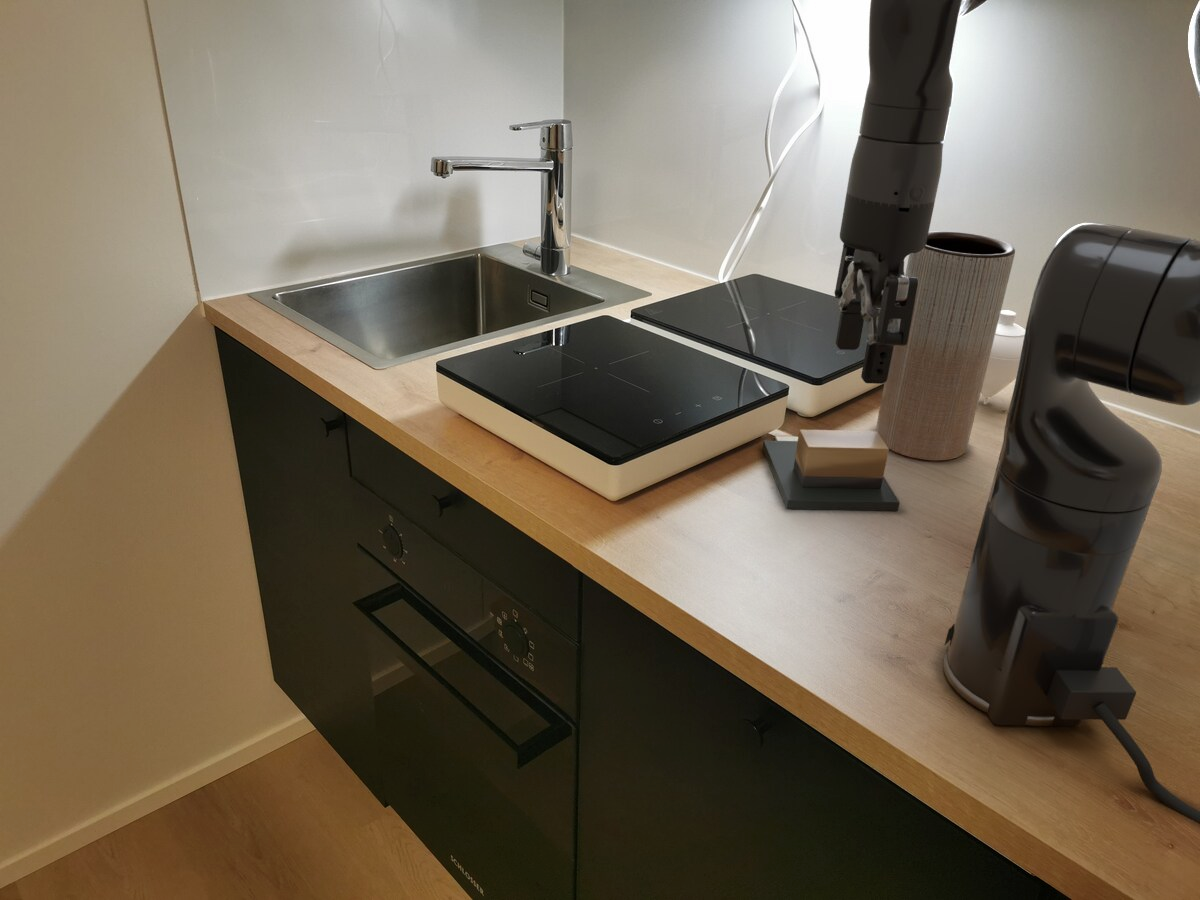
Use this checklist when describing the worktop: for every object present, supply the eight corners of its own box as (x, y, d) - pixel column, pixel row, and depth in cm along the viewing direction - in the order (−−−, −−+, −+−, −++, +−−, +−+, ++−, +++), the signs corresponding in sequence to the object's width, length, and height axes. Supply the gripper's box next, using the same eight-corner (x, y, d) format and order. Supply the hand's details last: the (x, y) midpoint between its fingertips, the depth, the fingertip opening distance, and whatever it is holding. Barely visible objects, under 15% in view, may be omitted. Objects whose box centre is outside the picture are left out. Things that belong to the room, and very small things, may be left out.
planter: (970, 468, 97) (1022, 259, 87) (874, 454, 100) (914, 249, 89) (962, 429, 106) (1009, 236, 96) (874, 417, 108) (910, 227, 98)
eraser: (881, 488, 91) (889, 448, 89) (801, 487, 90) (808, 447, 88) (869, 469, 94) (877, 430, 92) (793, 468, 94) (799, 429, 92)
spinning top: (941, 393, 116) (961, 302, 110) (995, 390, 117) (1018, 301, 112) (973, 418, 109) (997, 323, 104) (1030, 415, 110) (1057, 321, 105)
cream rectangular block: (806, 436, 102) (805, 439, 103) (775, 436, 102) (775, 438, 102) (809, 442, 101) (808, 445, 101) (778, 442, 101) (777, 444, 101)
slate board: (897, 511, 89) (899, 502, 88) (786, 508, 88) (788, 500, 88) (860, 450, 100) (862, 442, 100) (762, 448, 100) (763, 440, 100)
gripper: (827, 175, 85) (802, 338, 93) (874, 208, 73) (841, 393, 80) (905, 177, 86) (874, 339, 93) (965, 211, 73) (924, 395, 81)
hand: (859, 364), depth 87 cm, fingers open, 8 cm apart
